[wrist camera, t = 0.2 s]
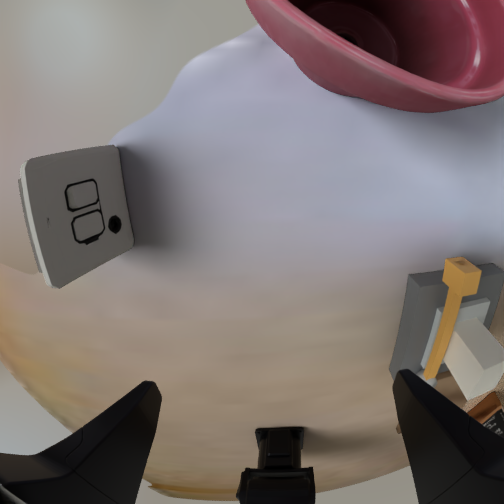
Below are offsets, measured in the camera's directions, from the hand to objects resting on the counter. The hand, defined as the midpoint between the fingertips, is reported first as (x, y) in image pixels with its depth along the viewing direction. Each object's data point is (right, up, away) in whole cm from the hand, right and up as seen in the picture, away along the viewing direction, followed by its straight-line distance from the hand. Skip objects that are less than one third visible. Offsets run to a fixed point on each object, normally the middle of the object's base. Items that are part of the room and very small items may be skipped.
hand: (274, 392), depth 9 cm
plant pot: (+7, +21, +7) cm, 23 cm away
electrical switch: (-14, +9, +14) cm, 22 cm away
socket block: (+20, -2, +15) cm, 25 cm away
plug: (+20, -2, +15) cm, 25 cm away
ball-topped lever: (+17, -2, +12) cm, 21 cm away
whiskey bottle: (+43, -26, +22) cm, 55 cm away
